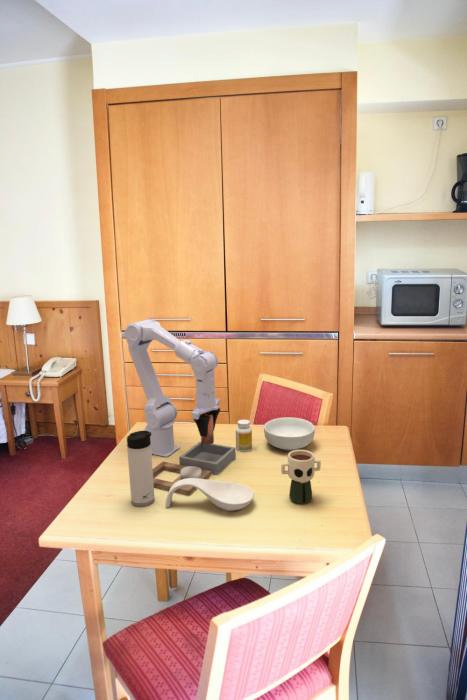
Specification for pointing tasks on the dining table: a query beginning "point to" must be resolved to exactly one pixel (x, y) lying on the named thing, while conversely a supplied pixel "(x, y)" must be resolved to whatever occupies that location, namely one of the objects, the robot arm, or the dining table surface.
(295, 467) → the character mug
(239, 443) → the supplement bottle
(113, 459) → the dining table surface
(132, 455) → the travel mug
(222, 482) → the spoon rest
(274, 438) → the cereal bowl
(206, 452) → the tray
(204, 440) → the reddish brown cylinder
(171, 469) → the brown flat wooden frame
